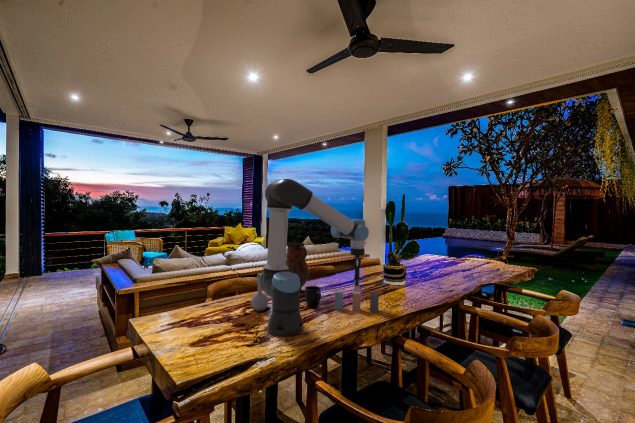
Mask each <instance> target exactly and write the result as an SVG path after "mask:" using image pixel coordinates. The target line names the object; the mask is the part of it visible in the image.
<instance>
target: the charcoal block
mask: <svg viewBox="0 0 635 423" xmlns="http://www.w3.org/2000/svg"><path fill="white" fill-rule="evenodd" d="M369 294H370V295H369V299H370V300H369V313H373V314H375V313H376V314H379V298H380V297H379V296H380V295H379V292H373V291H372V292H370V293H369Z"/></svg>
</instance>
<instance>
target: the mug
mask: <svg viewBox="0 0 635 423" xmlns="http://www.w3.org/2000/svg"><path fill="white" fill-rule="evenodd" d="M321 292H322V291H321V287H320V286H316V285H308V286H305V288H304V296H305V302H306V306H307V307H308V308H317V307H318V306H319V304H320V301H321V300H322V293H321Z"/></svg>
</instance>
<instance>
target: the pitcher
mask: <svg viewBox="0 0 635 423" xmlns="http://www.w3.org/2000/svg"><path fill="white" fill-rule="evenodd" d="M286 248H287V251H286V262H285V264H286V265H287V266H288V272H290V273H295V274H297V275H298V276H299V278H300V295H301V294H303V293H304V290H303V289H302V288H303V287H304V285H305V284H306V283H307V281H308V280H309V274H310V271H309V267H308V266H309V265H308V264H307V260H306V258H307V255H308V251H307V247H306V246H305V242H287V245H286Z"/></svg>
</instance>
